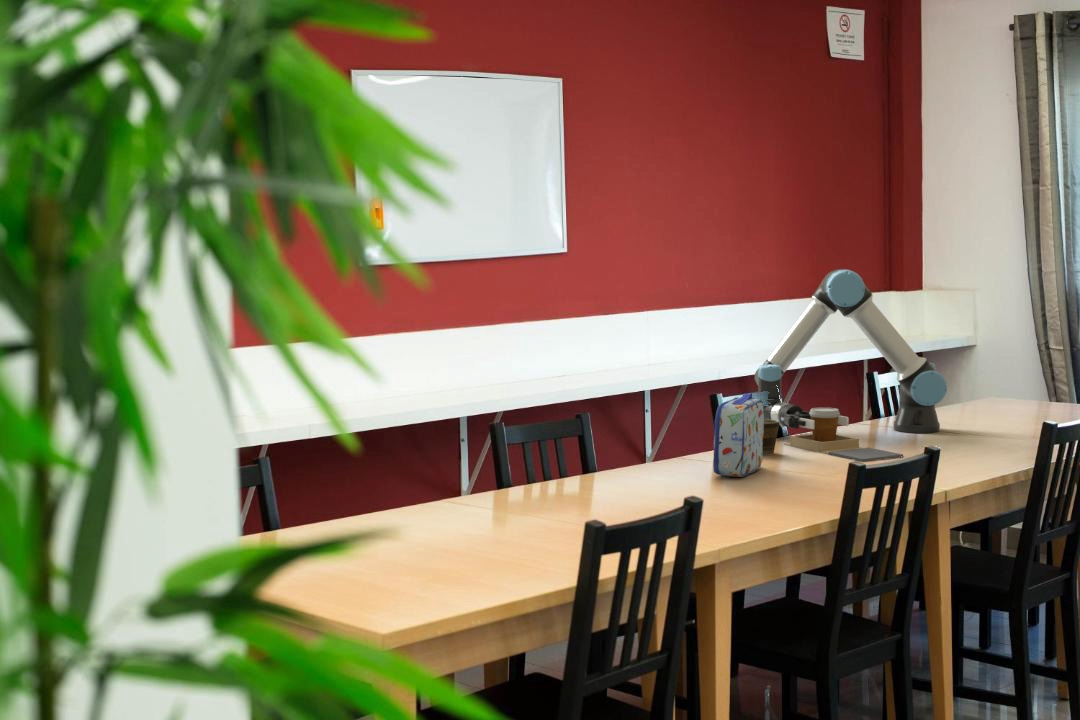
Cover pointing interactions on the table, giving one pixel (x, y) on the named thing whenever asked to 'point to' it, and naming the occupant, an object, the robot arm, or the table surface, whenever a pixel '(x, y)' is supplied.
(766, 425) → the ceramic cup
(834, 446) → the tan shallow tray
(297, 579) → the table surface
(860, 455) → the charcoal mat
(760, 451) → the lunch box
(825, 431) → the disposable coffee cup
